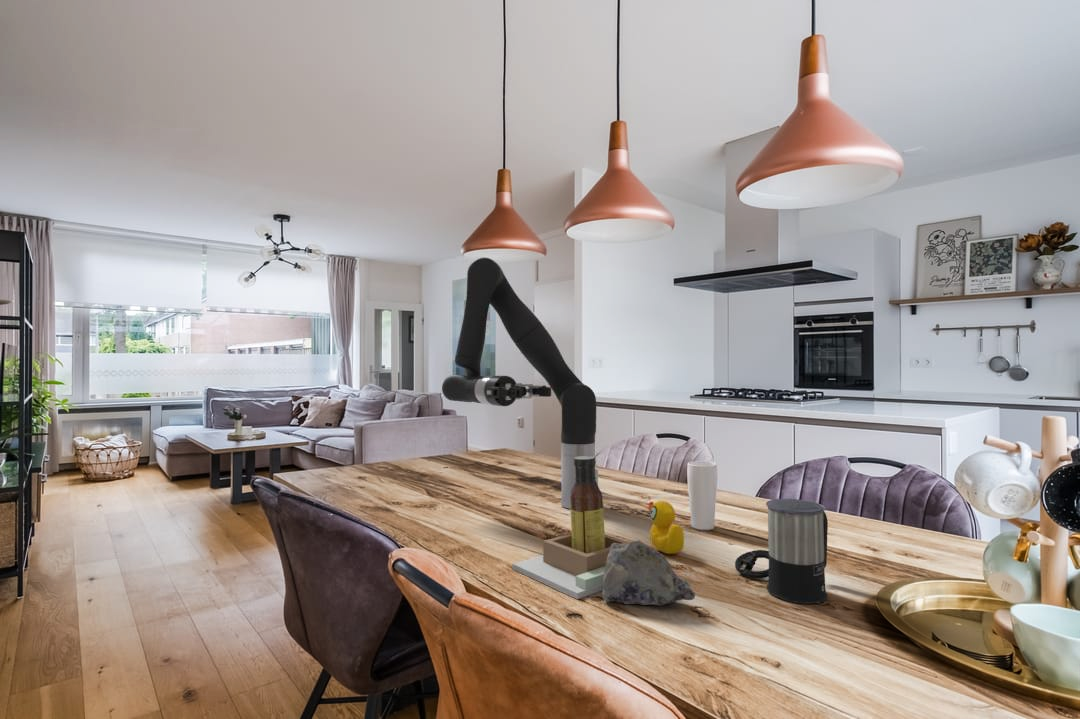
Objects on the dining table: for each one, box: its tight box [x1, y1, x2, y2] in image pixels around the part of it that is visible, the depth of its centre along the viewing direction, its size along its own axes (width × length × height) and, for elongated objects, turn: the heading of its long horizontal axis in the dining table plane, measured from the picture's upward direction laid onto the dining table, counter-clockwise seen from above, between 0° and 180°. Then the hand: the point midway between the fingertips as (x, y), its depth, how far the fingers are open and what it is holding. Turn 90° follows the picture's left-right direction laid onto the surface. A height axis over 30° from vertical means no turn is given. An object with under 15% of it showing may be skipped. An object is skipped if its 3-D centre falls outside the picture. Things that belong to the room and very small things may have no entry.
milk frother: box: [734, 498, 829, 605], centre depth 98 cm, size 14×16×15 cm
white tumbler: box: [686, 460, 718, 531], centre depth 133 cm, size 7×7×15 cm
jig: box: [511, 532, 631, 600], centre depth 107 cm, size 22×18×5 cm
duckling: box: [648, 500, 685, 555], centre depth 116 cm, size 11×5×10 cm, turn 19°
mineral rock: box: [602, 539, 696, 606], centre depth 91 cm, size 13×11×10 cm
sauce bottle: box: [569, 456, 606, 554], centre depth 107 cm, size 7×6×20 cm
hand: (535, 392), depth 130 cm, fingers open, 8 cm apart
